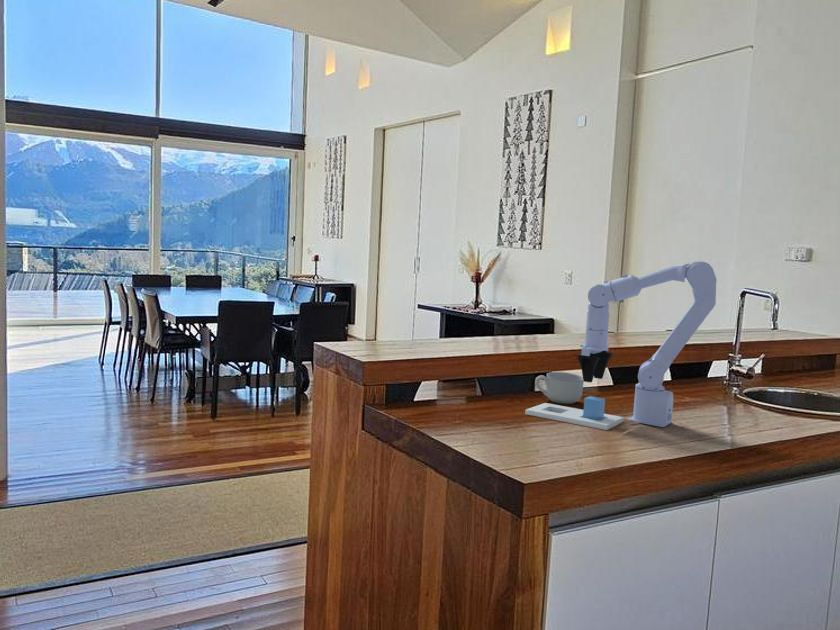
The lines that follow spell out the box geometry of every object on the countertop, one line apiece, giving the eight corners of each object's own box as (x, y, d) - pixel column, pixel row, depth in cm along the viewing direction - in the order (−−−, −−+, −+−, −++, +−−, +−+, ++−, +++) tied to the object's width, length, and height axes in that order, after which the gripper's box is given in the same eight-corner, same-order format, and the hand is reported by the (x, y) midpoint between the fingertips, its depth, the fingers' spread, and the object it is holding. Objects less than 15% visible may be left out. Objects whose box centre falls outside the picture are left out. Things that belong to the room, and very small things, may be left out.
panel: (623, 423, 183) (623, 417, 183) (606, 431, 174) (607, 425, 173) (544, 408, 196) (545, 402, 196) (525, 415, 186) (525, 409, 186)
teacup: (579, 400, 210) (581, 373, 209) (584, 408, 199) (586, 380, 199) (532, 396, 211) (534, 370, 211) (534, 404, 201) (536, 376, 200)
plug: (603, 421, 182) (605, 398, 182) (597, 424, 179) (599, 400, 178) (588, 418, 184) (590, 396, 184) (582, 421, 181) (584, 398, 181)
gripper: (592, 326, 197) (588, 374, 199) (572, 329, 186) (568, 381, 187) (617, 329, 193) (613, 378, 195) (598, 332, 182) (594, 385, 183)
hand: (593, 380), depth 191 cm, fingers open, 7 cm apart
